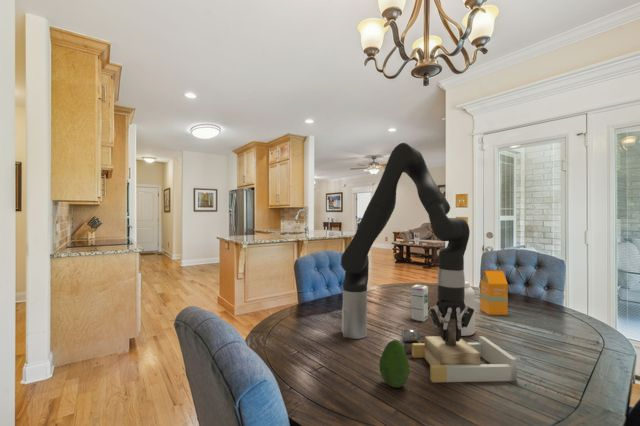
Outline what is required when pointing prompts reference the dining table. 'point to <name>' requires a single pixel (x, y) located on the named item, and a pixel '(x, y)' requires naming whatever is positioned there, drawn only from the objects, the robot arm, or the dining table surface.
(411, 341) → the drum
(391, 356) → the avocado
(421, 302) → the syrup box
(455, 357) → the box with grey peg
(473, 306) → the white plastic bottle
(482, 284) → the orange juice
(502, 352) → the frame
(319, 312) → the dining table surface
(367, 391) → the dining table surface
